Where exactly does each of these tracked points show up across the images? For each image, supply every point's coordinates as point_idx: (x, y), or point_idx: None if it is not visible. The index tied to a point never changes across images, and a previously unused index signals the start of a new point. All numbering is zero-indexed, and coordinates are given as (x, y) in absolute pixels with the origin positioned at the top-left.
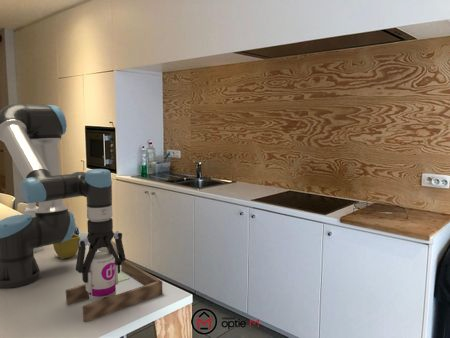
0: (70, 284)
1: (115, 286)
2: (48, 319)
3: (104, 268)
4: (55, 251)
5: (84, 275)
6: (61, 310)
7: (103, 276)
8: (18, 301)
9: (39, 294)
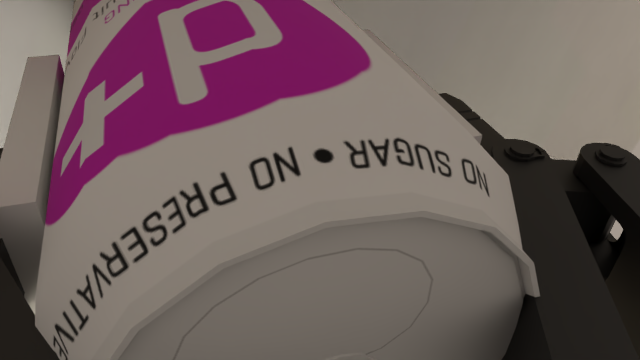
0: None
1: (74, 26)
2: (549, 15)
3: (336, 62)
4: None
5: (497, 139)
6: (450, 81)
7: (311, 9)
8: None
9: None
